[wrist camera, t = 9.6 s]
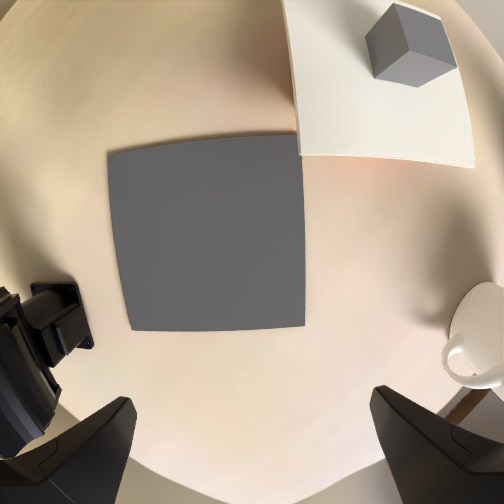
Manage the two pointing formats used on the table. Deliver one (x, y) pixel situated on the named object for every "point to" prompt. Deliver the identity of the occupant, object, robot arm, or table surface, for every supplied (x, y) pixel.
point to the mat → (211, 234)
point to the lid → (376, 82)
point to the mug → (479, 338)
